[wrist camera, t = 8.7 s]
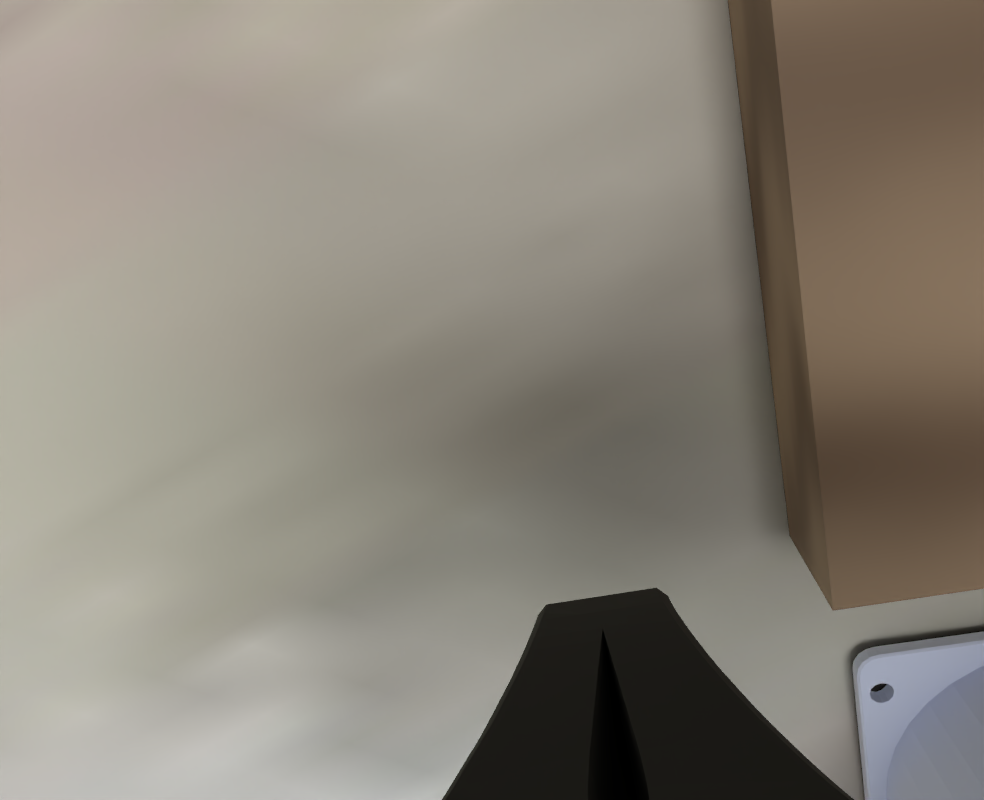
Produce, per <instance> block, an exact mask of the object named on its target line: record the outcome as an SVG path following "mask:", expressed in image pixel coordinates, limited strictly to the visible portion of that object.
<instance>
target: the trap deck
mask: <svg viewBox="0 0 984 800" xmlns="http://www.w3.org/2000/svg"><path fill="white" fill-rule="evenodd" d="M728 5H729V14H730V23H731V31H732V40H733V49H734V57H735V66H736V75H737V83H738V92H739V100H740V109H741V118H742V126H743V135H744V144H745V152H746V161H747V170H748V178H749V187H750V196H751V204H752V213H753V222H754V230H755V239H756V248H757V256H758V265H759V274H760V282H761V291H762V300H763V308H764V317H765V326H766V334H767V343H768V351H769V360H770V369H771V377H772V386H773V395H774V403H775V412H776V421H777V429H778V438H779V447H780V455H781V464H782V473H783V481H784V490H785V499H786V507H787V516H788V525H789V533H790V537H791V539H792V541H793V542H794V544H795V546H796V548H797V549H798V551H799V553H800V555H801V556H802V558H803V560H804V561H805V563H806V565H807V567H808V568H809V570H810V572H811V574H812V575H813V577H814V579H815V580H816V582H817V584H818V586H819V587H820V589H821V591H822V592H823V594H824V596H825V598H826V599H827V601H828V603H829V605H830V606H831V608H832V610H840V609H846V608H853V607H860V606H867V605H874V604H881V603H887V602H894V601H901V600H908V599H915V598H921V597H928V596H935V595H942V594H949V593H956V592H962V591H969V590H976V589H983V588H984V0H728Z"/></svg>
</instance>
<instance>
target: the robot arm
mask: <svg viewBox="0 0 984 800" xmlns="http://www.w3.org/2000/svg"><path fill="white" fill-rule="evenodd" d="M852 669H853V680H854V690H855V700H856V711H857V721H858V732H859V742H860V753H861V763H862V774H863V784H864V794H865V800H984V631H983V632H976V633H969V634H962V635H954V636H947V637H940V638H933V639H926V640H919V641H912V642H905V643H898V644H891V645H883V646H876V647H871V648H868V649H865V650H863V651H862V652H861V653H859V654H858V655H857V657H856V658H855V660H854V661H853V668H852ZM880 683H885V684H887V685H886V686H885V687H884V688H883V689H882V690H880V691H877V692H874V691H871V689H872V688H873V687H874V686H875V685H878V684H880ZM442 800H854V799H853V798H851V797H850V796H849V795H848V794H846V793H845V792H844V791H843V790H842V789H841V788H839V787H838V786H837V785H836V784H835V783H834V782H833V781H831V780H830V779H829V778H828V777H827V776H826V775H825V774H823V773H822V772H821V771H820V770H819V769H818V768H817V767H816V766H815V765H814V764H812V763H811V762H810V761H809V760H808V759H807V758H806V757H805V756H804V755H803V754H802V753H801V752H800V751H798V750H797V749H796V748H795V747H794V746H793V745H792V744H791V743H790V742H789V741H788V740H787V739H786V738H785V737H784V736H783V735H782V734H781V733H780V732H779V731H778V730H777V729H776V728H775V727H774V726H773V725H772V724H771V723H770V722H769V721H768V720H767V719H766V718H765V717H764V716H763V715H762V714H761V713H760V712H759V711H758V710H757V709H756V708H755V707H754V706H753V705H752V704H751V703H750V702H749V701H748V699H747V698H746V697H745V696H744V695H743V694H742V693H741V692H740V691H739V689H738V688H737V687H736V686H735V685H734V684H733V683H732V682H731V681H730V679H729V678H728V677H727V676H726V675H725V674H724V673H723V672H722V671H721V669H720V668H719V667H718V666H717V665H716V664H715V662H714V661H713V660H712V659H711V658H710V656H709V655H708V654H707V653H706V651H705V650H704V649H703V648H702V646H701V645H700V644H699V642H698V641H697V640H696V639H695V637H694V636H693V635H692V633H691V632H690V631H689V629H688V628H687V626H686V625H685V624H684V622H683V621H682V619H681V618H680V616H679V615H678V613H677V612H676V610H675V608H674V607H673V605H672V603H671V601H670V599H669V597H668V596H667V595H666V594H664V593H663V592H662V591H660V590H659V589H657V588H652V589H646V590H639V591H633V592H626V593H620V594H613V595H606V596H600V597H593V598H587V599H580V600H574V601H567V602H561V603H554V604H548V605H546V606H545V607H544V608H543V610H542V611H541V612H540V614H539V615H538V617H537V620H536V623H535V625H534V628H533V631H532V633H531V636H530V638H529V640H528V643H527V645H526V647H525V650H524V652H523V654H522V657H521V659H520V661H519V663H518V665H517V667H516V669H515V671H514V674H513V676H512V678H511V680H510V682H509V684H508V686H507V688H506V690H505V692H504V694H503V696H502V697H501V699H500V701H499V703H498V705H497V707H496V709H495V711H494V713H493V715H492V717H491V718H490V720H489V722H488V724H487V726H486V728H485V730H484V731H483V733H482V735H481V737H480V739H479V740H478V742H477V744H476V745H475V747H474V749H473V750H472V752H471V753H470V755H469V757H468V758H467V760H466V762H465V763H464V765H463V767H462V768H461V770H460V771H459V773H458V775H457V776H456V778H455V780H454V781H453V783H452V784H451V786H450V788H449V789H448V791H447V793H446V794H445V796H444V797H443V799H442Z"/></svg>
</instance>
